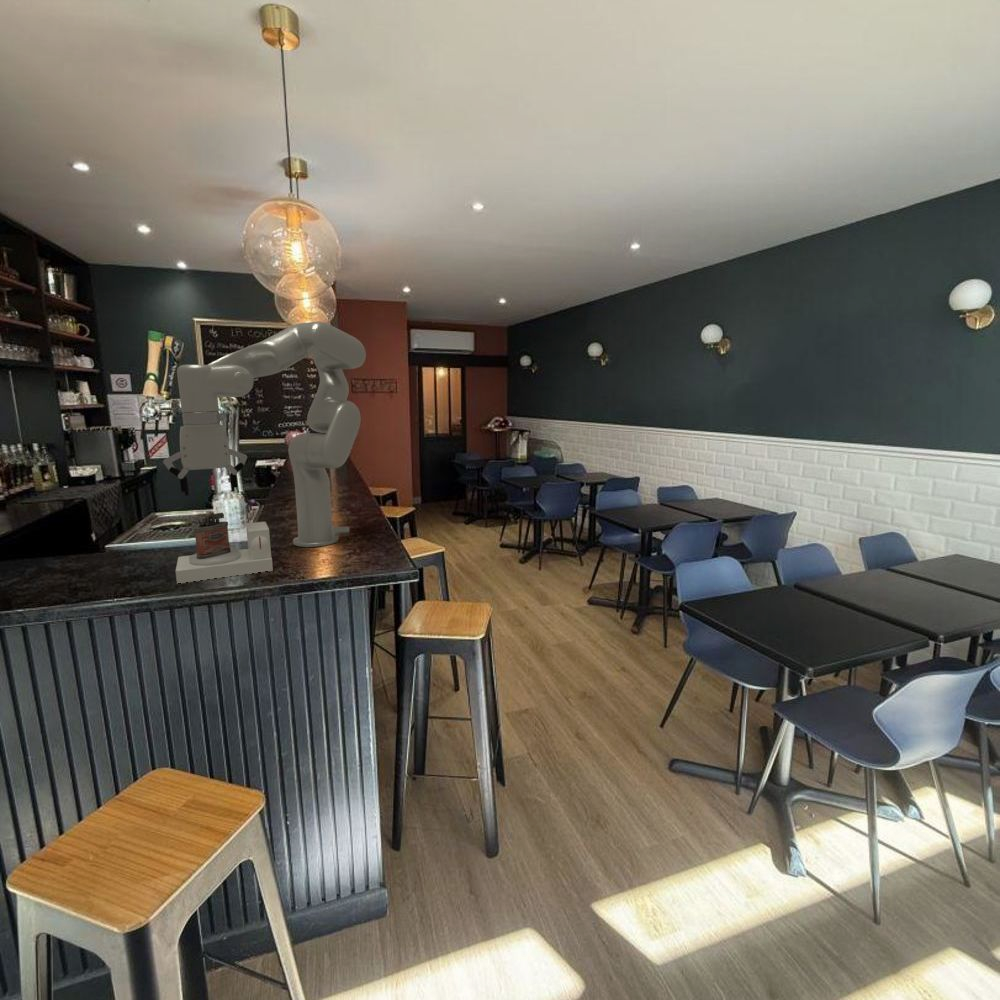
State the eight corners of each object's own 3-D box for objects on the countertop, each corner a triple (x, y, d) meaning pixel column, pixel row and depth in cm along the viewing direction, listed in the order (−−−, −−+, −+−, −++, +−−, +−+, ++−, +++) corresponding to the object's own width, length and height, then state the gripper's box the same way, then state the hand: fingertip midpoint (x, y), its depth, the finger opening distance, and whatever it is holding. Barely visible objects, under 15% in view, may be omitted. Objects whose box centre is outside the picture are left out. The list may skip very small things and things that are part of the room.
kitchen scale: (267, 557, 141) (264, 520, 139) (272, 570, 129) (269, 530, 128) (179, 568, 131) (175, 529, 130) (177, 584, 120) (172, 540, 118)
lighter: (202, 560, 125) (197, 518, 123) (193, 558, 126) (189, 516, 124) (233, 551, 131) (230, 512, 130) (225, 550, 133) (221, 510, 131)
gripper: (242, 418, 130) (249, 487, 134) (159, 420, 122) (169, 494, 126) (244, 419, 124) (251, 491, 127) (156, 421, 116) (166, 499, 119)
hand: (210, 492), depth 126 cm, fingers open, 9 cm apart
